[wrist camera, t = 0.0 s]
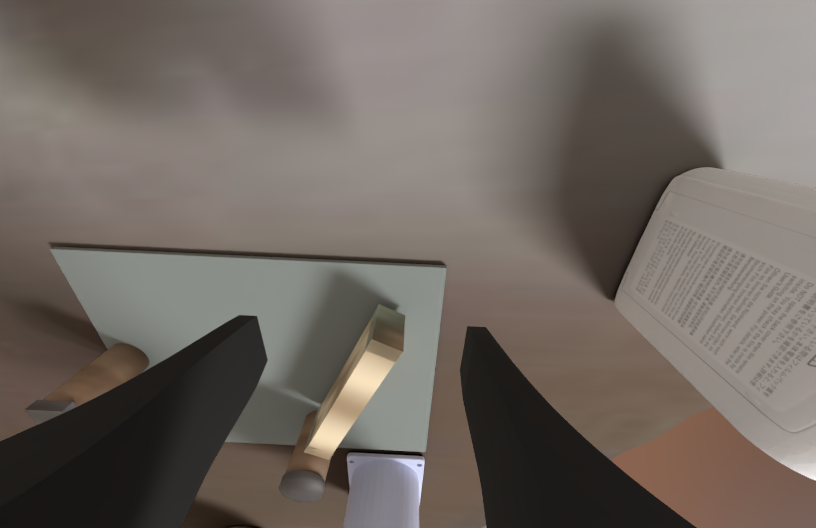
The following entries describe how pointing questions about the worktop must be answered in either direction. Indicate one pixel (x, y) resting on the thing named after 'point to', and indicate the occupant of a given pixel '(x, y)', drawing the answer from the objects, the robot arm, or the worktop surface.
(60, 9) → the worktop surface
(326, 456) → the cream long bar
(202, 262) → the mat
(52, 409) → the latch post
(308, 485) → the brown grey short cylinder
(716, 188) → the white upright rounded block
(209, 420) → the robot arm
